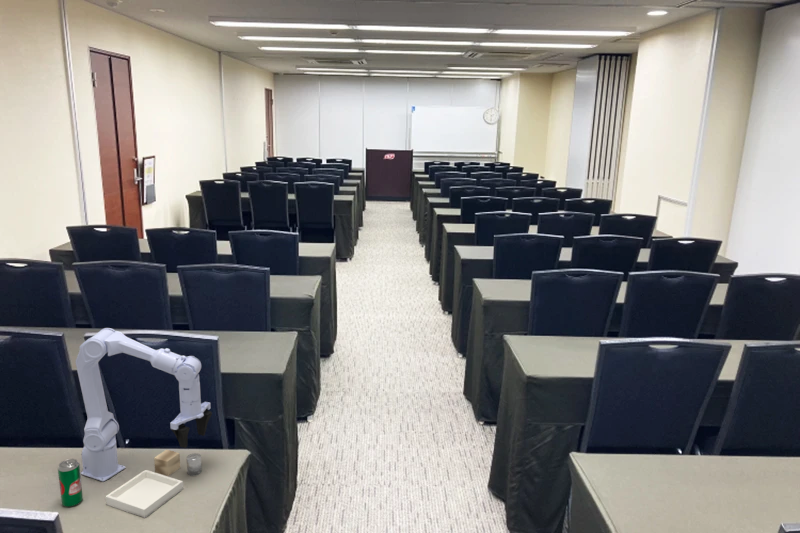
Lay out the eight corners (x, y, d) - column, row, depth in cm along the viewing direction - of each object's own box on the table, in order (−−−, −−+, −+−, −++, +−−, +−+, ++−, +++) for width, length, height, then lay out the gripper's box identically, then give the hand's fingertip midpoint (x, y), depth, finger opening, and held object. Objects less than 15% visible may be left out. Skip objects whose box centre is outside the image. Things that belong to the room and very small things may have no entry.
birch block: (155, 472, 168) (154, 457, 167) (167, 464, 173) (166, 449, 172) (168, 476, 167) (167, 461, 165) (180, 467, 171) (179, 453, 170)
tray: (106, 504, 153) (105, 496, 153) (146, 477, 166) (145, 469, 165) (145, 518, 148) (144, 509, 148) (183, 488, 161) (182, 481, 160)
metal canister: (184, 473, 168) (183, 458, 167) (194, 467, 172) (193, 452, 171) (195, 477, 167) (194, 462, 166) (204, 470, 170) (203, 455, 169)
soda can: (73, 509, 151) (69, 469, 148) (57, 506, 152) (52, 467, 149) (87, 498, 156) (83, 459, 153) (71, 495, 156) (67, 456, 154)
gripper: (183, 411, 156) (185, 455, 159) (217, 391, 169) (219, 432, 172) (163, 406, 158) (166, 450, 161) (199, 387, 172) (201, 427, 174)
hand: (192, 440), depth 167 cm, fingers open, 7 cm apart
